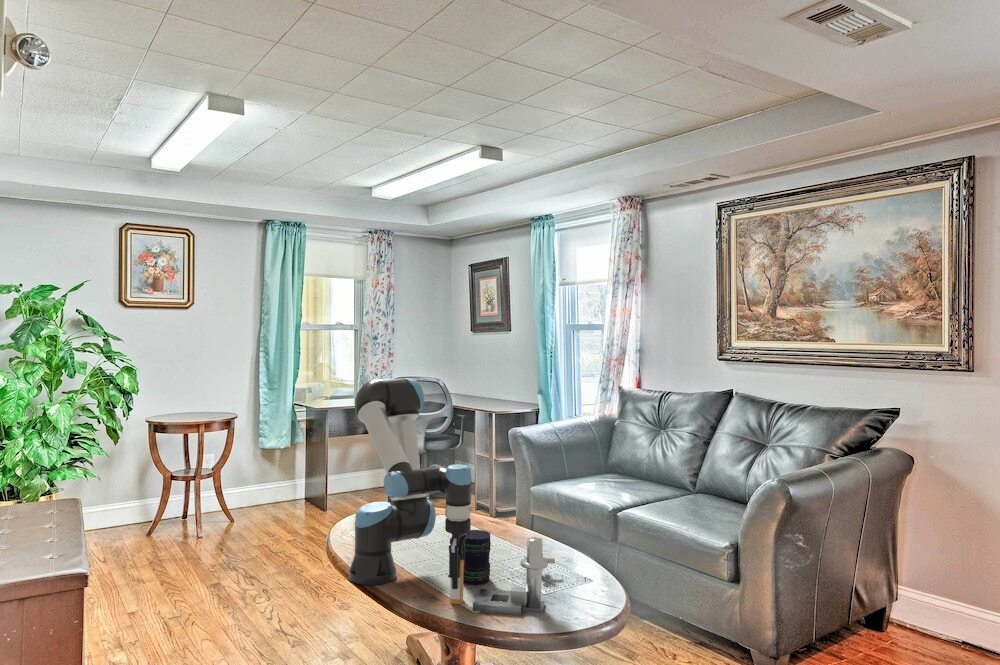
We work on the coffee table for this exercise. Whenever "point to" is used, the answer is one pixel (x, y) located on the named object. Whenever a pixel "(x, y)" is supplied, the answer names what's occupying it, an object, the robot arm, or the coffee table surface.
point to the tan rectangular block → (460, 585)
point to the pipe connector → (547, 559)
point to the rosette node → (517, 597)
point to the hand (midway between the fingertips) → (456, 596)
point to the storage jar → (477, 558)
